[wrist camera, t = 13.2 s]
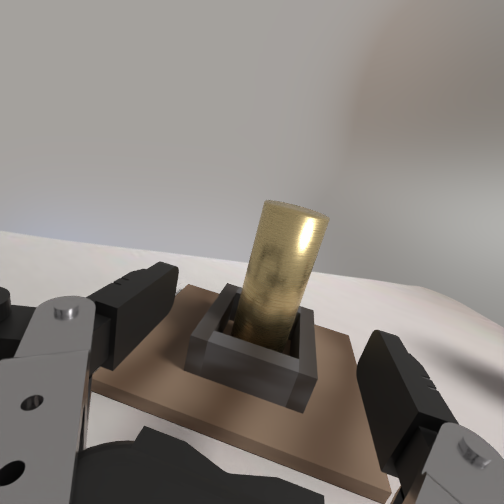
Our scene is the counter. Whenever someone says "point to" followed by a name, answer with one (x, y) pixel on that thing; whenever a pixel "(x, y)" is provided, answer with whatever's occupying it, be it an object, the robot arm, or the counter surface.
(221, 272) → the counter surface
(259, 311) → the post
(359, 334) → the counter surface
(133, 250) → the counter surface
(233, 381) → the mounting plate
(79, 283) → the counter surface
